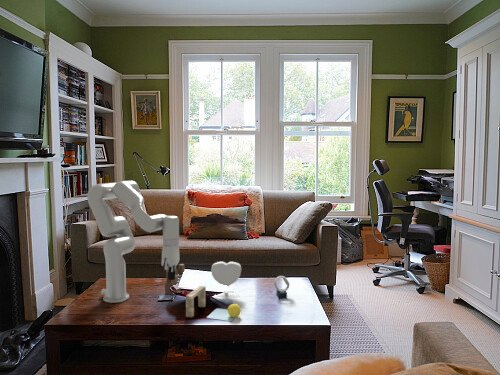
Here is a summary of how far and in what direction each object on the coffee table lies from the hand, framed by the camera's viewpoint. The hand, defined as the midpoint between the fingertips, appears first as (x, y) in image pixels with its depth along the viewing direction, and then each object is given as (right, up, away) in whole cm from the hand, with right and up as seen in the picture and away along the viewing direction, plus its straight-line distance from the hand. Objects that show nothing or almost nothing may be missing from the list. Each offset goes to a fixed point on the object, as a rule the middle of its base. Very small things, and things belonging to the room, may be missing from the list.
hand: (171, 279), depth 193 cm
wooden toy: (-3, -12, +27) cm, 30 cm away
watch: (+55, -13, +17) cm, 59 cm away
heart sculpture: (+25, -13, +18) cm, 34 cm away
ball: (+31, -12, -10) cm, 34 cm away
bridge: (+12, -14, -3) cm, 19 cm away
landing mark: (+26, -15, -7) cm, 30 cm away
